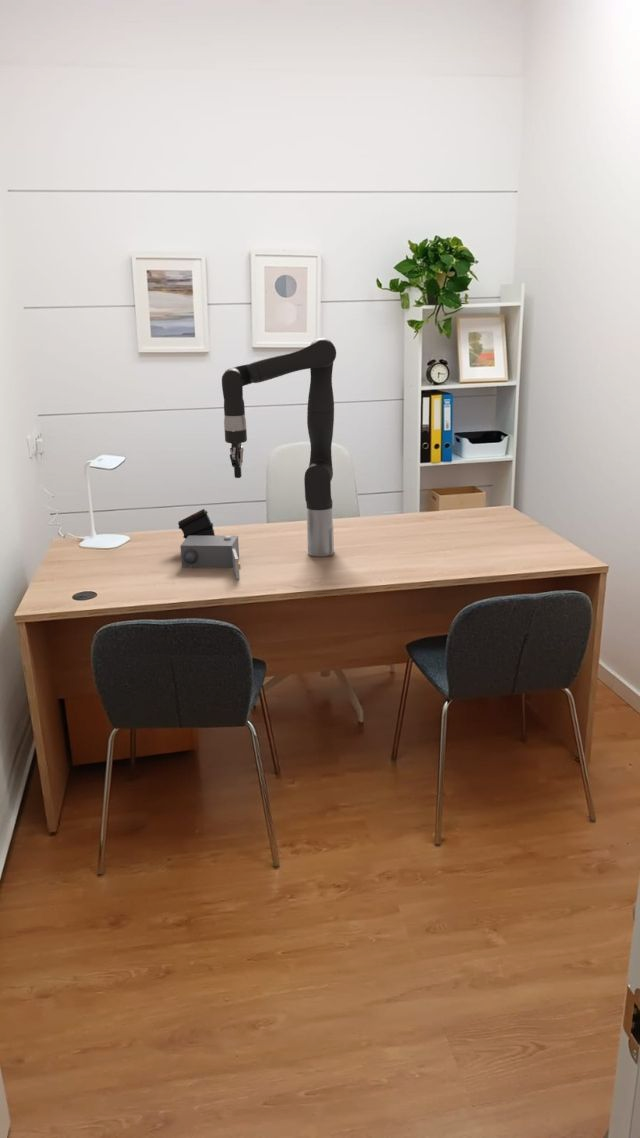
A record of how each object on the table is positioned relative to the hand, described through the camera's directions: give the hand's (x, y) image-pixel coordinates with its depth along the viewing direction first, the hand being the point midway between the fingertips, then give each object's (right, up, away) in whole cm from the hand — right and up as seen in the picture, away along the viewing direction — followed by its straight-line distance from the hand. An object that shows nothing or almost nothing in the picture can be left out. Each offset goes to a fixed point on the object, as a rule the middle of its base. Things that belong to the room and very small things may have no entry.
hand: (238, 477), depth 299 cm
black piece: (-16, -25, +19) cm, 35 cm away
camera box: (-10, -30, +4) cm, 31 cm away
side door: (0, -33, -9) cm, 35 cm away
